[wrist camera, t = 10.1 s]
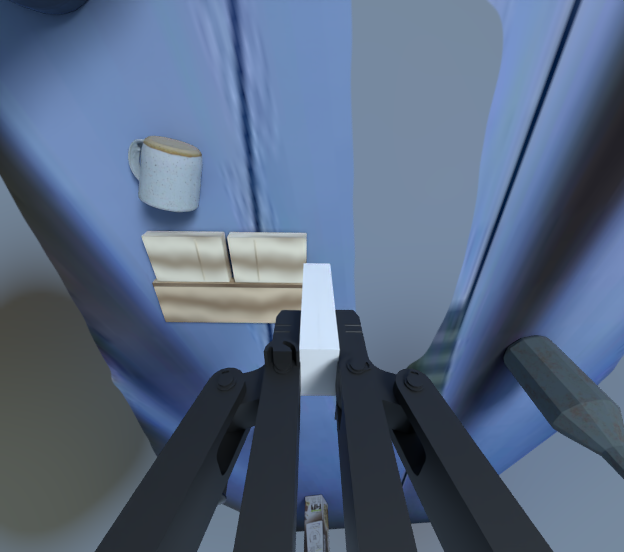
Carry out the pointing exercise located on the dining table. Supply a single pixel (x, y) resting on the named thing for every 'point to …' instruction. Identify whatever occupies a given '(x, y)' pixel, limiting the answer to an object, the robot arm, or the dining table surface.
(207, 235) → the plank
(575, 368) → the bottle
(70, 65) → the dining table surface
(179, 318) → the laid board
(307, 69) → the dining table surface
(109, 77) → the dining table surface
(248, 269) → the plank
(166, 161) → the ceramic mug
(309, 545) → the coffee box
